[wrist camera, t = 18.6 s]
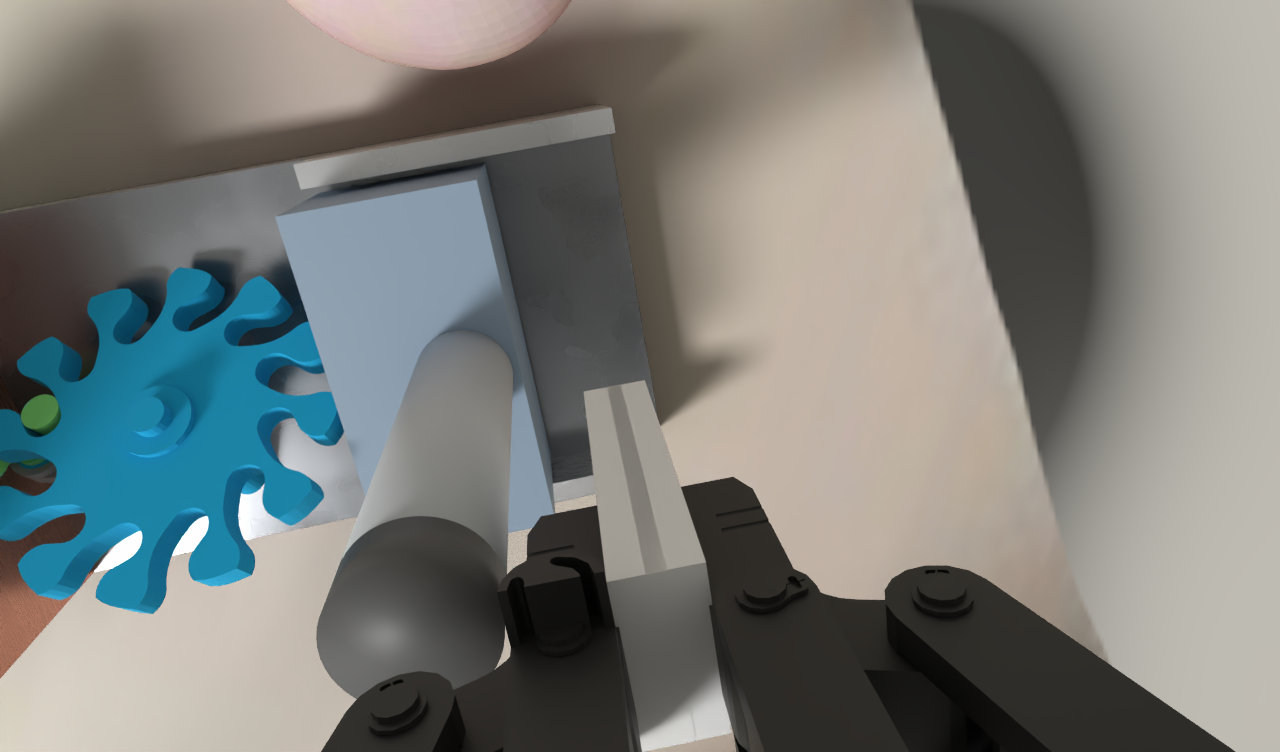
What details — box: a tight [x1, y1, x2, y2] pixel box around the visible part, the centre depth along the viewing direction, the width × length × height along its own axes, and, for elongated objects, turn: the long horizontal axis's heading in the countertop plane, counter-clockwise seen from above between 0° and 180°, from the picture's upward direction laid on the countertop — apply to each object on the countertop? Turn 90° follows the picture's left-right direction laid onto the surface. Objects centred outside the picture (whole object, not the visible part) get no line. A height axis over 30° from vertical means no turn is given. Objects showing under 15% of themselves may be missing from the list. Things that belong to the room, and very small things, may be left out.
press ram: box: [275, 163, 555, 699], centre depth 19 cm, size 10×5×16 cm, turn 9°
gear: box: [0, 267, 344, 614], centre depth 24 cm, size 11×6×10 cm
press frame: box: [0, 104, 658, 678], centre depth 24 cm, size 12×24×10 cm, turn 99°
